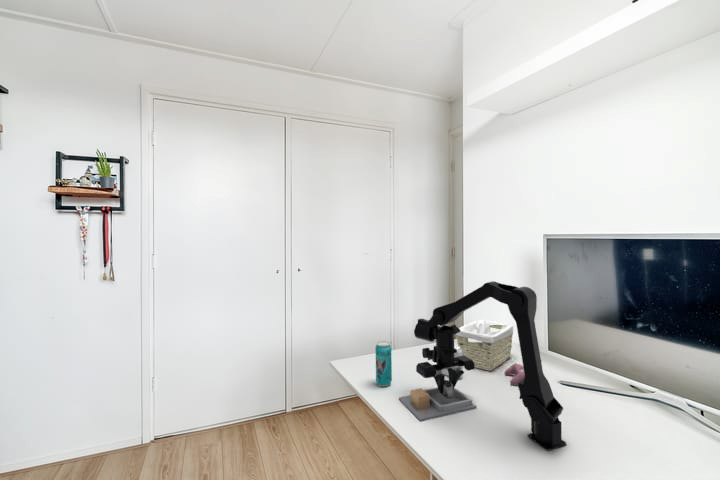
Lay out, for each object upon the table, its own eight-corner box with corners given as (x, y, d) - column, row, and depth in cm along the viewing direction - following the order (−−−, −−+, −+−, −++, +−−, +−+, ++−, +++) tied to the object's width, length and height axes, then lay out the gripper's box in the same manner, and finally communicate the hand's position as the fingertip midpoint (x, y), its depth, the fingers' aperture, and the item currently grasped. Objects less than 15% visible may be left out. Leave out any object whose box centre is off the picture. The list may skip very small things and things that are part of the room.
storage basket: (479, 349, 157) (479, 317, 157) (515, 357, 146) (515, 323, 146) (454, 364, 140) (454, 329, 140) (493, 374, 129) (493, 336, 128)
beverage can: (373, 385, 120) (372, 344, 120) (380, 379, 126) (379, 340, 125) (388, 389, 118) (387, 346, 118) (394, 382, 123) (393, 342, 123)
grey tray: (476, 408, 104) (476, 393, 104) (420, 421, 97) (420, 405, 97) (449, 388, 117) (449, 375, 117) (398, 399, 110) (398, 385, 110)
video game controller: (521, 391, 118) (531, 374, 117) (509, 384, 119) (518, 367, 118) (514, 379, 128) (523, 363, 127) (503, 373, 129) (511, 357, 128)
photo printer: (435, 372, 132) (435, 341, 131) (442, 369, 134) (442, 338, 134) (458, 380, 124) (457, 347, 123) (464, 377, 126) (464, 345, 126)
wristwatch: (446, 400, 105) (445, 384, 105) (436, 391, 111) (436, 377, 111) (455, 399, 106) (455, 383, 106) (445, 390, 112) (445, 375, 112)
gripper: (454, 334, 119) (455, 378, 119) (407, 341, 112) (408, 387, 113) (475, 343, 108) (475, 391, 109) (424, 351, 102) (425, 402, 102)
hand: (445, 392), depth 108 cm, fingers closed on wristwatch, 3 cm apart
